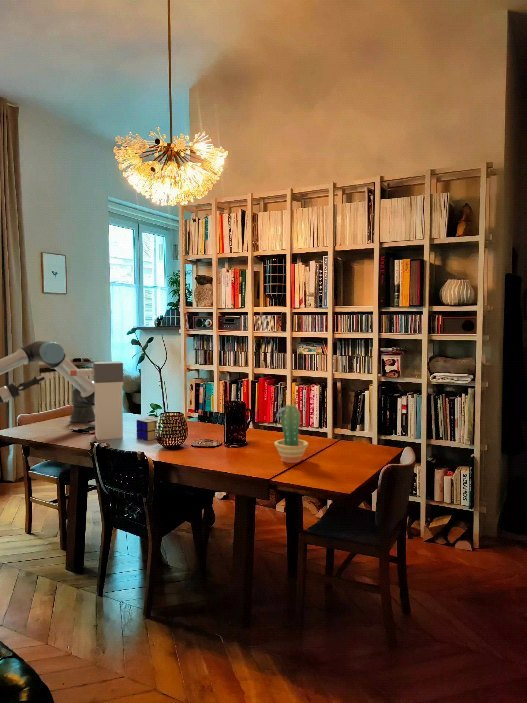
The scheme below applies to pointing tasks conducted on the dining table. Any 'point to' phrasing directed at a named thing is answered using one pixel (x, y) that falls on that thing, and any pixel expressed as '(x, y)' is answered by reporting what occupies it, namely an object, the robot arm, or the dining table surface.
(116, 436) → the socket stand
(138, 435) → the puzzle cube
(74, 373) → the plug rod
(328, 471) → the dining table surface
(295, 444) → the potted cactus
